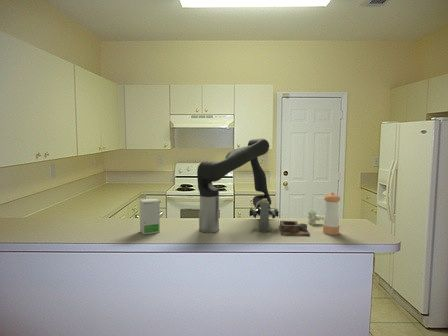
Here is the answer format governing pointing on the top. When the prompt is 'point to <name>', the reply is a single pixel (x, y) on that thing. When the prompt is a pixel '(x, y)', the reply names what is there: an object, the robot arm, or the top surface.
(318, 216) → the valve
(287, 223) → the bit block
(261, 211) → the grey square column
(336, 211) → the pepper shaker
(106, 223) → the top surface
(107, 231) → the top surface
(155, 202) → the skincare box
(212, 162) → the robot arm
